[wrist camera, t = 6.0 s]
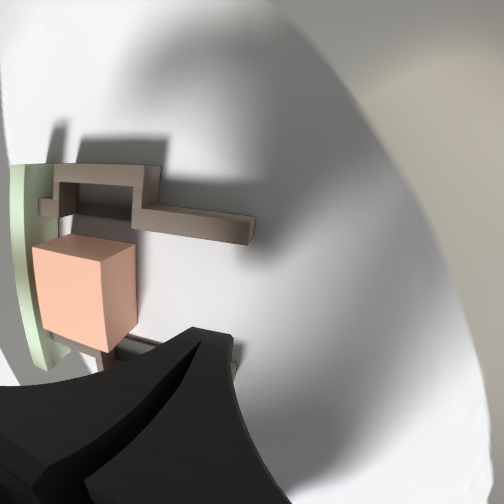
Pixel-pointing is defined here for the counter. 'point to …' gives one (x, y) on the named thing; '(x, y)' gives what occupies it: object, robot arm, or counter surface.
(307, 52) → the counter surface
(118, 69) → the counter surface
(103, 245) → the block
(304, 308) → the counter surface
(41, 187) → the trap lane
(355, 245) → the counter surface
